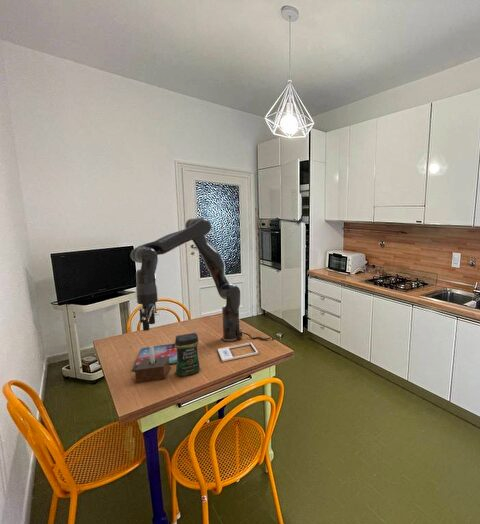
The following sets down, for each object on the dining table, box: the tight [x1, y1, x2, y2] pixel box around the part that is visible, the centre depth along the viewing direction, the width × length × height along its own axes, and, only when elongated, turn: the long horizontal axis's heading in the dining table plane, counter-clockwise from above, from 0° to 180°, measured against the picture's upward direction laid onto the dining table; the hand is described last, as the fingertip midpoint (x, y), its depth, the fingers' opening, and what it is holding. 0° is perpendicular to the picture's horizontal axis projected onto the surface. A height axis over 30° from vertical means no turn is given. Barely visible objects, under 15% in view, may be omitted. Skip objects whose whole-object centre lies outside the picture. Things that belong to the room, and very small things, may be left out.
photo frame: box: [217, 342, 259, 363], centre depth 158 cm, size 15×1×18 cm
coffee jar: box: [174, 332, 201, 377], centre depth 136 cm, size 10×8×19 cm
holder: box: [134, 356, 171, 384], centre depth 134 cm, size 11×11×6 cm
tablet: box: [132, 342, 177, 372], centre depth 152 cm, size 19×25×1 cm
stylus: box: [149, 345, 155, 364], centre depth 133 cm, size 2×2×14 cm
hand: (149, 327), depth 132 cm, fingers open, 8 cm apart
